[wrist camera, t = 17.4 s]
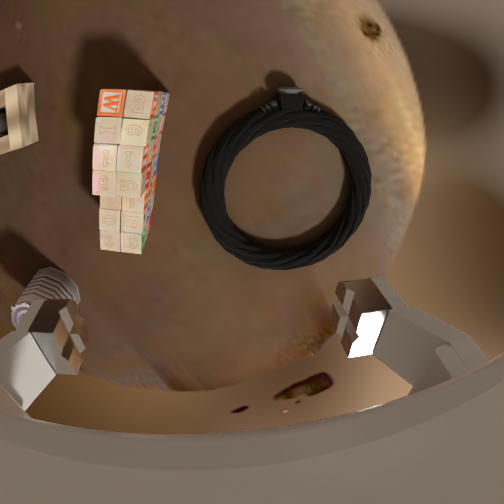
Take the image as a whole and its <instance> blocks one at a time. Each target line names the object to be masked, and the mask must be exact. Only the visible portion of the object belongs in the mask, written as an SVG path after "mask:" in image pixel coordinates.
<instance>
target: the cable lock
mask: <svg viewBox="0 0 504 504" xmlns="http://www.w3.org/2000/svg"><path fill="white" fill-rule="evenodd" d="M276 90H277V91H278V92H279V93H280V94H281V95H280V94H278V95H275V96H276V100H277V102H276V101H271V102H269V103H268V105H267V104H266V105H264V106H261V107H260V109H258V110H255V111H252V112H251V113H249V114H247V115H246V116H244V117H243V118H241V119H239V120H238V121H236V122H235V123H234V124H233V125H232V126H230V127H229V128H228V129H227V130H226V131H225V132H224V134H223V135H222V136H221V138H220V139H219V140H218V141H217V142H216V143H215V145H214V147H213V148H212V150H211V151H210V153H209V155H208V156H207V159H206V163H205V166H204V169H203V173H202V179H201V184H200V203H201V208H202V212H203V217H204V218H205V220H206V222H207V224H208V226H209V228H210V230H211V232H212V234H213V235H214V237H215V239H216V240H217V242H218V243H219V244H220V245H221V246H222V247H223V248H224V249H225V250H226V251H227V252H229V253H231V254H232V255H234V256H235V257H237V258H238V259H240V260H242V261H243V262H245V263H247V264H249V265H252V266H255V267H259V268H264V269H272V270H289V269H294V268H300V267H304V266H309V265H313V264H315V263H317V262H320V261H322V260H324V259H325V258H327V257H328V256H329V255H331V254H333V253H335V252H336V251H337V250H338V249H340V248H341V247H342V246H343V245H344V244H345V243H346V241H347V240H348V239H349V238H350V236H351V235H352V234H354V233H355V231H356V230H357V228H358V227H359V225H360V223H361V222H362V220H363V217H364V214H365V212H366V209H367V207H368V205H369V200H370V194H371V175H372V174H371V170H370V167H369V163H368V158H367V155H366V153H365V150H364V148H363V146H362V144H361V143H360V142H359V140H358V139H357V138H356V136H355V134H354V132H353V131H352V130H351V129H350V128H349V127H348V126H347V125H346V124H345V123H344V122H343V121H342V120H340V119H338V118H336V117H334V116H333V115H331V114H330V113H328V112H326V111H324V110H322V109H320V108H319V107H318V106H315V105H314V104H312V103H310V102H309V101H304V98H305V95H301V94H300V93H301V91H302V90H303V89H301V88H298V87H279V88H278V89H276ZM290 127H294V128H303V129H309V130H312V131H314V132H316V133H319V134H321V135H323V136H325V137H327V138H328V139H329V140H330V141H331V142H332V143H333V144H334V145H335V146H336V147H337V148H338V149H339V150H340V151H341V153H342V155H343V157H344V159H345V161H346V164H347V166H348V168H349V174H350V194H349V198H348V201H347V205H346V207H345V209H344V211H343V213H342V215H341V217H340V218H339V219H338V221H337V222H336V224H335V225H334V226H333V227H332V228H331V229H330V230H329V231H328V232H327V233H326V234H324V235H323V236H322V237H320V238H319V239H318V240H316V241H314V242H311V243H309V244H306V245H304V246H301V247H298V248H294V249H273V248H266V247H263V246H260V245H258V244H256V243H254V242H252V241H250V240H248V239H246V238H245V237H243V236H242V235H241V234H240V233H239V231H238V230H237V229H236V227H235V226H234V224H233V223H232V221H231V219H230V218H229V216H228V215H227V212H226V205H225V198H224V186H225V179H226V176H227V173H228V171H229V169H230V167H231V165H232V163H233V161H234V159H235V157H236V156H237V154H238V153H239V152H240V151H241V150H242V149H243V148H244V147H246V146H247V145H248V144H249V143H250V142H251V141H253V140H254V139H255V138H256V137H259V136H261V135H263V134H265V133H267V132H269V131H273V130H277V129H281V128H290Z"/></svg>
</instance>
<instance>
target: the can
mask: <svg viewBox="0 0 504 504" xmlns="http://www.w3.org/2000/svg"><path fill="white" fill-rule="evenodd" d="M35 299H73V300H75V301H76V303H77V305H78V304H79V302H80V296H79V291H78V287H77V285H76V284H75V283H74V282H73V280H72V279H71V278H70V277H69V276H68V275H67V274H66V273H65V272H62V271H60V270H58V269H55V268H53V267H48V268H44V269H41V270H38V272H37V273H36V274H35V276H34V277H33V279H32V280H31V282H30V283H29V284H28V286H27V287H26V289H25V290H24V292H23V293H22V295H21V296H20V298H19V299H18V301H17V302H16V304H15V306H11V313H12V323H13V324H14V326H15V327H16V329H17V327H18V325H19V324H20V322H21V320H22V318H23V317H24V315H25V313H26V312H27V310H28V308H29V307H30V305H31V303H32V302H33V300H35Z"/></svg>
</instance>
